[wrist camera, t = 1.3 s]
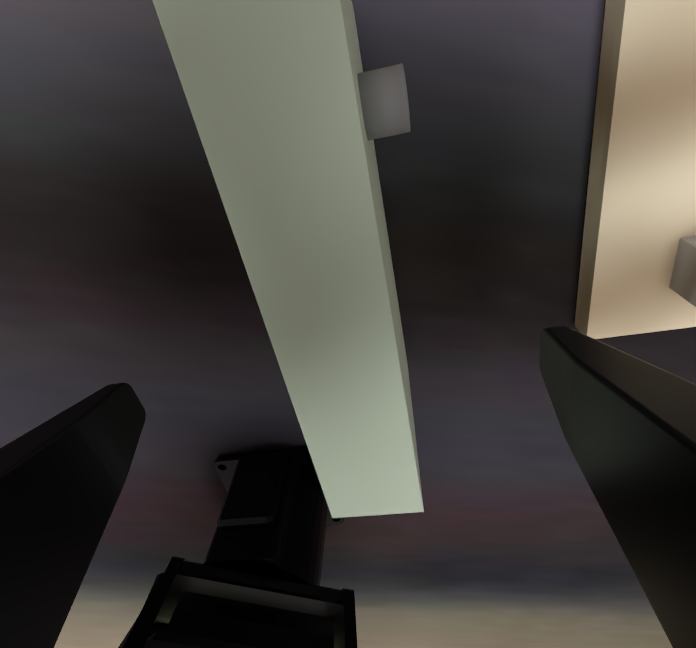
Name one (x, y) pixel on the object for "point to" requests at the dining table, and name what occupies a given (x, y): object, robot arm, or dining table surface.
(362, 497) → the door panel
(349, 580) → the dining table surface
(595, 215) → the clip bracket board
